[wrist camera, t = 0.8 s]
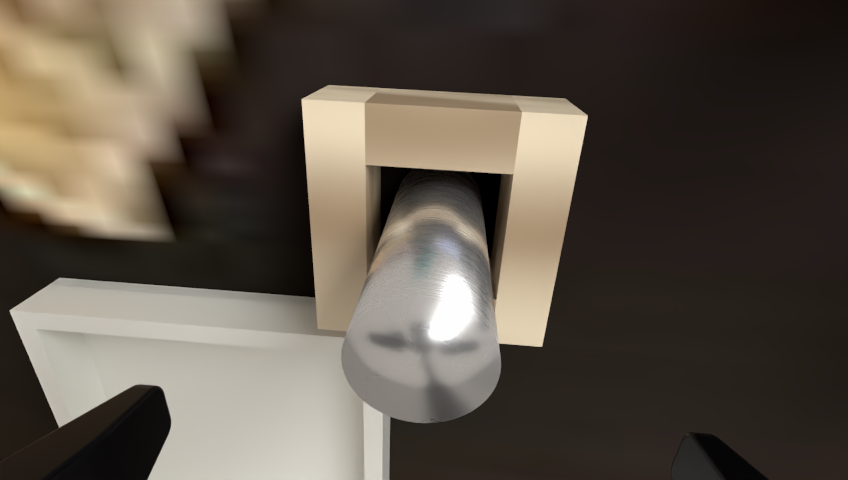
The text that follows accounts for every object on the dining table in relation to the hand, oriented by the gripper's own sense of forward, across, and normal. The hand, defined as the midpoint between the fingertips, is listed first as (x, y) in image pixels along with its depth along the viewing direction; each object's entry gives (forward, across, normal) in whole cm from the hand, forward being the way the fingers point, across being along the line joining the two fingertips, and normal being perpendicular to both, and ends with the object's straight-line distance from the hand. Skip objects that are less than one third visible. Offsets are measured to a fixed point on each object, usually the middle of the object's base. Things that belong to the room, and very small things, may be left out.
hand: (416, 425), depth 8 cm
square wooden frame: (+10, 0, 0) cm, 10 cm away
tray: (+10, +9, +12) cm, 18 cm away
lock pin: (+10, 0, 0) cm, 10 cm away
